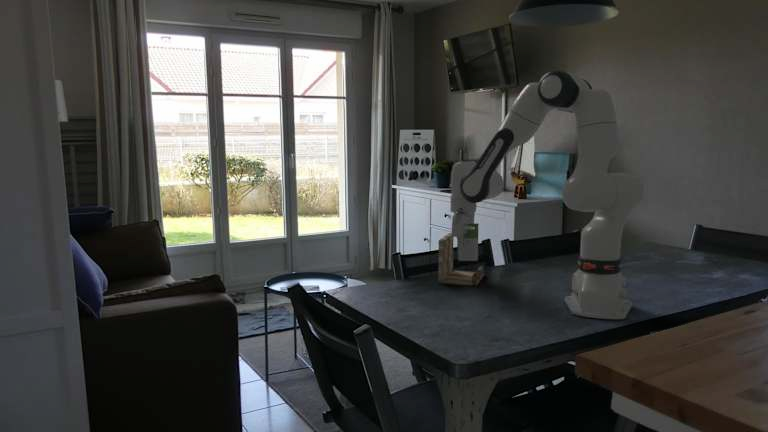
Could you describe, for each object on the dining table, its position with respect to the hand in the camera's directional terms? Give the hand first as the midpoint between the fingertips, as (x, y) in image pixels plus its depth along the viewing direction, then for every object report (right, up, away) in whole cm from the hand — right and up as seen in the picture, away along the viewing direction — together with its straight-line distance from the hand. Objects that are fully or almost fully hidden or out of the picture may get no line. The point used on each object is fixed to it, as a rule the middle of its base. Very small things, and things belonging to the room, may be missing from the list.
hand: (462, 245), depth 199 cm
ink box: (+2, -5, +1) cm, 6 cm away
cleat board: (0, -12, +2) cm, 12 cm away
